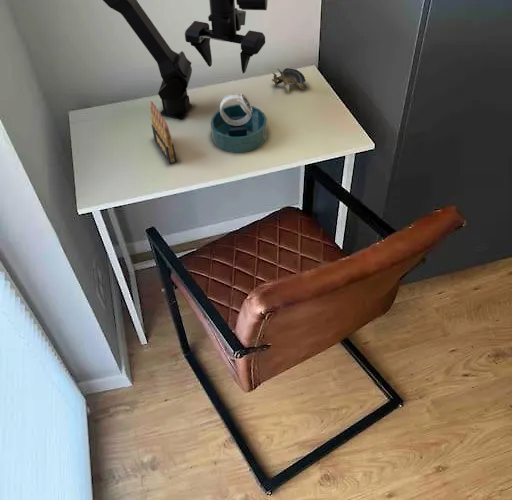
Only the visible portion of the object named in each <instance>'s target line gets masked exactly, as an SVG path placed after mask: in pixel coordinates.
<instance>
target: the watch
mask: <svg viewBox="0 0 512 500" xmlns="http://www.w3.org/2000/svg"><path fill="white" fill-rule="evenodd" d="M233 101H237V103H238V104H240V106H241V108H242V109H243V111H244V112H245V113H247V115H246V116H245V117H244V116H238V117H228V116H227V115H226V114H225V112H224V110H223V109H222V108H224V107H225V105H226V104H227V103H230V102H233ZM251 106H252V104H251V102H250V100H249V99H248V98H247V96H246V95H245V94H244V93H242V94H241V93H230V94H227V95H226V96H224V97H223V98H222V99H221V102H220V103H219V110H220V114H221V116H222V118H223V120H224V121H225V122H226V123H227V124H228V132H229V136H232V137H242V136H247V128H246V124H245V123H247V122H248V121H249V120H250V118H251V116H252V115H251V112H253V109H252V107H251Z"/></svg>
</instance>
